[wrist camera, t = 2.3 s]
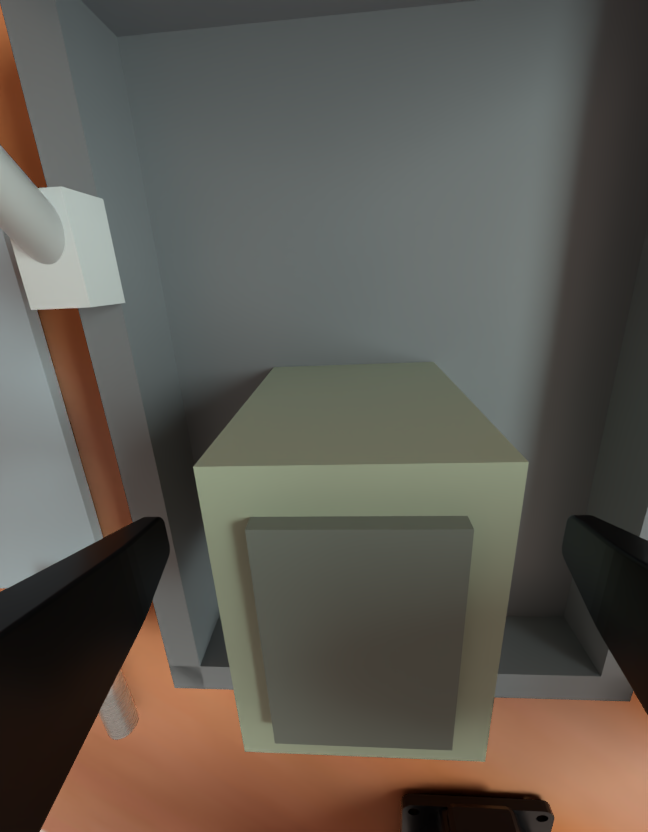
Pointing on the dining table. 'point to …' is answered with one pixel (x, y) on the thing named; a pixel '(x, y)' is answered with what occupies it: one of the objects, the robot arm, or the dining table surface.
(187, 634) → the equipment case
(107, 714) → the rod
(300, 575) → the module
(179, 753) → the dining table surface
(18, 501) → the blue-grey flat plate
